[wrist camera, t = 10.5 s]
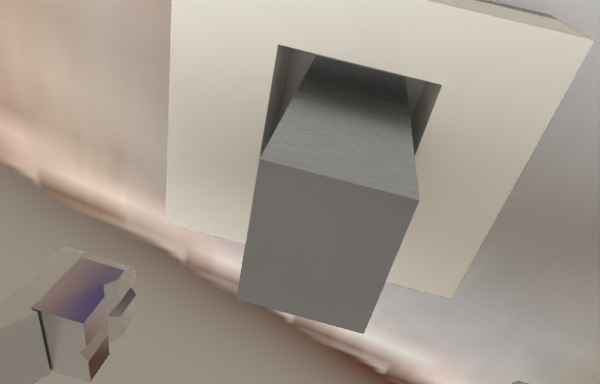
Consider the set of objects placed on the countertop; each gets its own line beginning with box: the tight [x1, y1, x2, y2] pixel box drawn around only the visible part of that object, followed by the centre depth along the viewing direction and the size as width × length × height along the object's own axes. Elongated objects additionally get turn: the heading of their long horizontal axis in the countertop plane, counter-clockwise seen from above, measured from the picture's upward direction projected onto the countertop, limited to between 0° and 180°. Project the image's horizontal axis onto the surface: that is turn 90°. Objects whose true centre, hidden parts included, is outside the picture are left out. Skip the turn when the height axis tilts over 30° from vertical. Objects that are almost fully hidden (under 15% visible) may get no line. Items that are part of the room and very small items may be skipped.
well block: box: [165, 0, 595, 299], centre depth 19 cm, size 14×12×4 cm
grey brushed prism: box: [237, 55, 420, 334], centre depth 16 cm, size 4×5×10 cm
